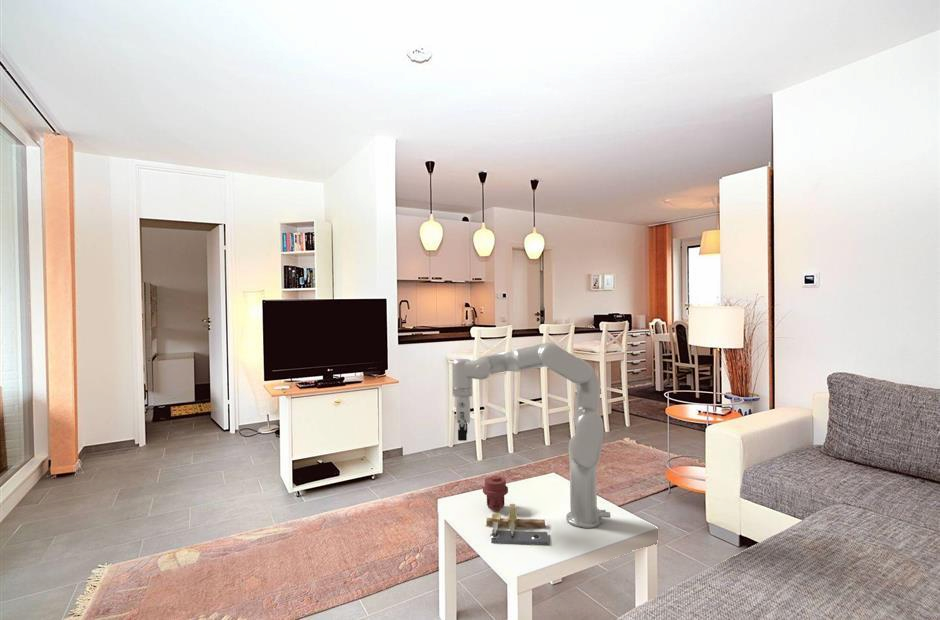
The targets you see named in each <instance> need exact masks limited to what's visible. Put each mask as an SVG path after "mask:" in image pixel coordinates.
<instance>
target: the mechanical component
mask: <svg viewBox="0 0 940 620" xmlns="http://www.w3.org/2000/svg"><path fill="white" fill-rule="evenodd" d="M506 482H507V480H506V478H504V477H502V476H499V475H491V476H488V477H486V478H484V485H483V487H482V492H483V494H484V495H485V496H486V506H487V508H488V509H491V510H493V512H494V513H495V512H496V513H497V512H499V511H500V509H502V508H504V506H505V496H506V495H507V494H508V493H509V487H508V485H507V483H506Z"/></svg>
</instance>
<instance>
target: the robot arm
mask: <svg viewBox="0 0 940 620" xmlns="http://www.w3.org/2000/svg"><path fill="white" fill-rule="evenodd" d="M544 367H546V368H547V369H549V370H551V371H553V372H554V373H556V374H558V375H560V377H563V378H564V379H566V380H568V381H570V382H572V383H574V384H575V387H576V395H575V396H576V397H575V405H574V413H573V419H572V420H573V421H572V422H573V424H574V426H575V431H574V435H573V436H572V437H571V438H570V440H569V441H568V442H569V443H568V459H569V460H568V462H569V491H570V492H569V494H570V495H569V497H570V498H569V499H570V500H569V501H570V504H569V505H570V511H569V512H567V514H566V516H565V517H566V518H565V519H566V521H567V522H568V523H569V524H570V525H572V526H575V527H578V528H584V529H585V528H586V529H592V528H596V527H598V526H600V525H601V524H602V518H607V519H608V518H609V519H610V518H612V517H611V516H612V515H611V512H610V511H606V510H607V509H599V508H598V502H597V501H598V500H597V499H598V497H597V496H598V493H597V466H598V465H597V464H598V463H599V462H600V459H601V453H602V447H603V438H604V421H603V419H602V417H601V415H600V403H601V383H600V379H599V376H598V374H597V372H596V371H595V369H594V368H593V367H592V365H590V364H589V362H587V361H586V360H585V359H582V358H581V357H577V356H576V355H574V354H571V353H570V352H569V351H566V350H565V349H563V348H562V347H560V346H559V345H558V344H556V343H554V342H544V343H539V344H535V345H532V346H531V345H529V346H526V347H522V348H517V349H513V350H512V349H511V350H509V351H503V352H499V353H495V354H490V355H486V356H481V357H479V358H477V359H476V360H475V359H474V360H471V359H469V358H458V359H453V360H452V366H451V369H452V373H451V376H452V382H451V384H452V397H454V398H455V415H456V423H457V424H458V429H457V440H458V441H459V442H461V441H464V442H465V441H468V440H467V439H468V437H467V434H468V424H470V423H471V399H470V397H473V379H474V380H481V381H482V380H487V379H488V378H489V377H490V376H491V375H494V374H498V373H504V372H505V373H506V372H516V373H522V372H526V371H530V370H535V369H539V368H544Z"/></svg>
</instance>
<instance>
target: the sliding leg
mask: <svg viewBox="0 0 940 620" xmlns="http://www.w3.org/2000/svg"><path fill="white" fill-rule="evenodd" d="M517 519H518V514H517V513H516V504H515V503H510V504H509V513H508V524H509V527H508V529H509V531H510V533H511V536H513V535H514V533H515V531H516V530H515V529H518V527H517Z"/></svg>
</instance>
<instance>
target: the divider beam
mask: <svg viewBox="0 0 940 620" xmlns="http://www.w3.org/2000/svg"><path fill="white" fill-rule="evenodd" d="M501 516H502V515H501V513H497V512H496V513H495V512H494V513H492V515H491V517H486V524H485V525H486V527H491V528H492V530H493V535H495V536H496V533H497V530H499V529H498V528H501V527H502V528H509V524H508V518H509V517H508V518H507V517H506V518H503V517H501ZM545 521H546V519H540V518H539V519H537V518H535V519H534V518H530V519H529V518H517V528H522V529H523V528H524V529H526V528H527V529H529V528H531V529H546V522H545Z"/></svg>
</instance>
